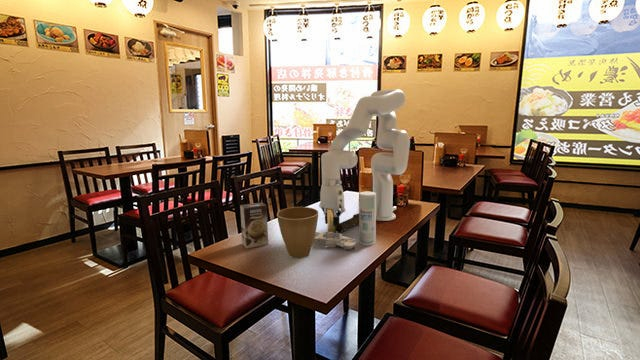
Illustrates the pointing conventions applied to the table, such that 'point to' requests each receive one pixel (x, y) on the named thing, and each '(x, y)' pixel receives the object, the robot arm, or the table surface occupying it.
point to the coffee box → (254, 224)
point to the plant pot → (298, 229)
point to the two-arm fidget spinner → (334, 240)
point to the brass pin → (330, 221)
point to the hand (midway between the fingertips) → (332, 223)
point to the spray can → (367, 217)
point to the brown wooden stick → (348, 223)
